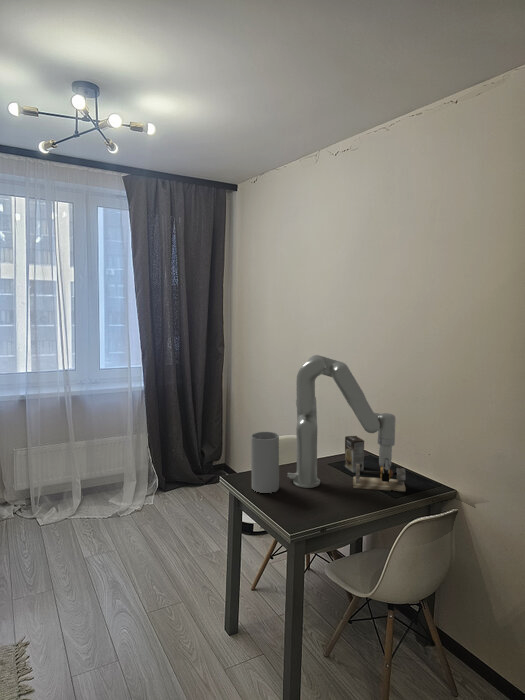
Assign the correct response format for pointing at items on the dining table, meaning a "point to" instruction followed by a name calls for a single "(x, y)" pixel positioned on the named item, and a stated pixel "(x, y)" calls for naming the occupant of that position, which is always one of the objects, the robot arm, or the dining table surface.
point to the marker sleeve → (382, 472)
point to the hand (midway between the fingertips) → (385, 478)
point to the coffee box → (354, 453)
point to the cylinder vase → (265, 462)
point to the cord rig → (380, 480)
